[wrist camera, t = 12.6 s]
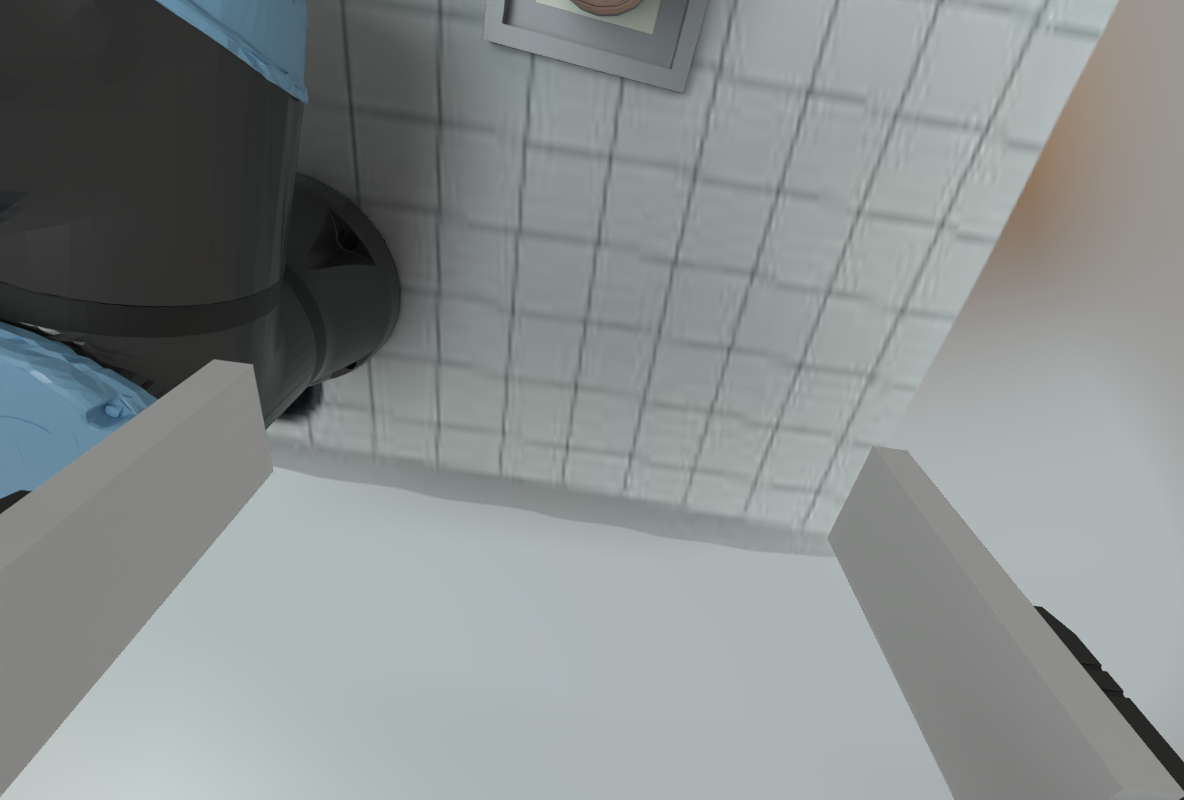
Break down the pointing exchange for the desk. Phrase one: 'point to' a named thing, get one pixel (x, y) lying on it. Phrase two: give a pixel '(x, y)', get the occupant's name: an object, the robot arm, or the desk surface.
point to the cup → (606, 6)
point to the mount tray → (604, 36)
